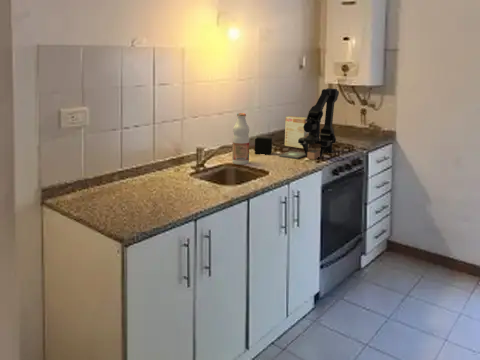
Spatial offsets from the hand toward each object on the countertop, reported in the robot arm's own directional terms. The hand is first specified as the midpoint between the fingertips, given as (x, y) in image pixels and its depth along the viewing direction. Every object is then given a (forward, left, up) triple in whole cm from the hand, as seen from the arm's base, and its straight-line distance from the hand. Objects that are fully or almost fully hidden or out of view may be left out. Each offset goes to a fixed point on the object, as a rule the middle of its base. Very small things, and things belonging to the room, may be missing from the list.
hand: (313, 156), depth 318 cm
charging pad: (+2, -12, -1) cm, 12 cm away
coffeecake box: (-27, -24, -1) cm, 36 cm away
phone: (0, 0, -1) cm, 1 cm away
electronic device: (+8, -30, -1) cm, 31 cm away
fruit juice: (+38, -28, -1) cm, 47 cm away
